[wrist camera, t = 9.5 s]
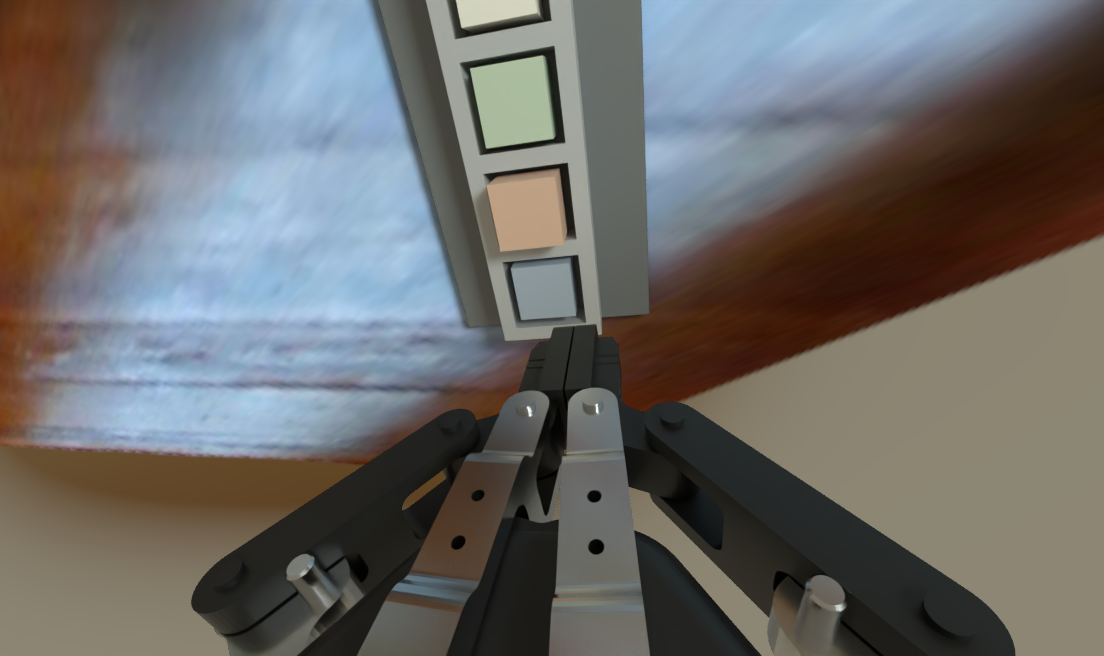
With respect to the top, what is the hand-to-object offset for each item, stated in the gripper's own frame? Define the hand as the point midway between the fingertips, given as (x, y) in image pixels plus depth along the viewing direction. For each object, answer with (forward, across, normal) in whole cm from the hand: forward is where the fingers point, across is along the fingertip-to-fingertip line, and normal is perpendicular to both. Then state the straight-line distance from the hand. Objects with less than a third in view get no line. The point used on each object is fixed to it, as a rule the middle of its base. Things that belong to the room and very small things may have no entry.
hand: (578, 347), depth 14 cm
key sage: (+15, +3, -8) cm, 17 cm away
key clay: (+13, +4, -2) cm, 14 cm away
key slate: (+15, +4, +3) cm, 16 cm away
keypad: (+16, +4, -5) cm, 17 cm away
